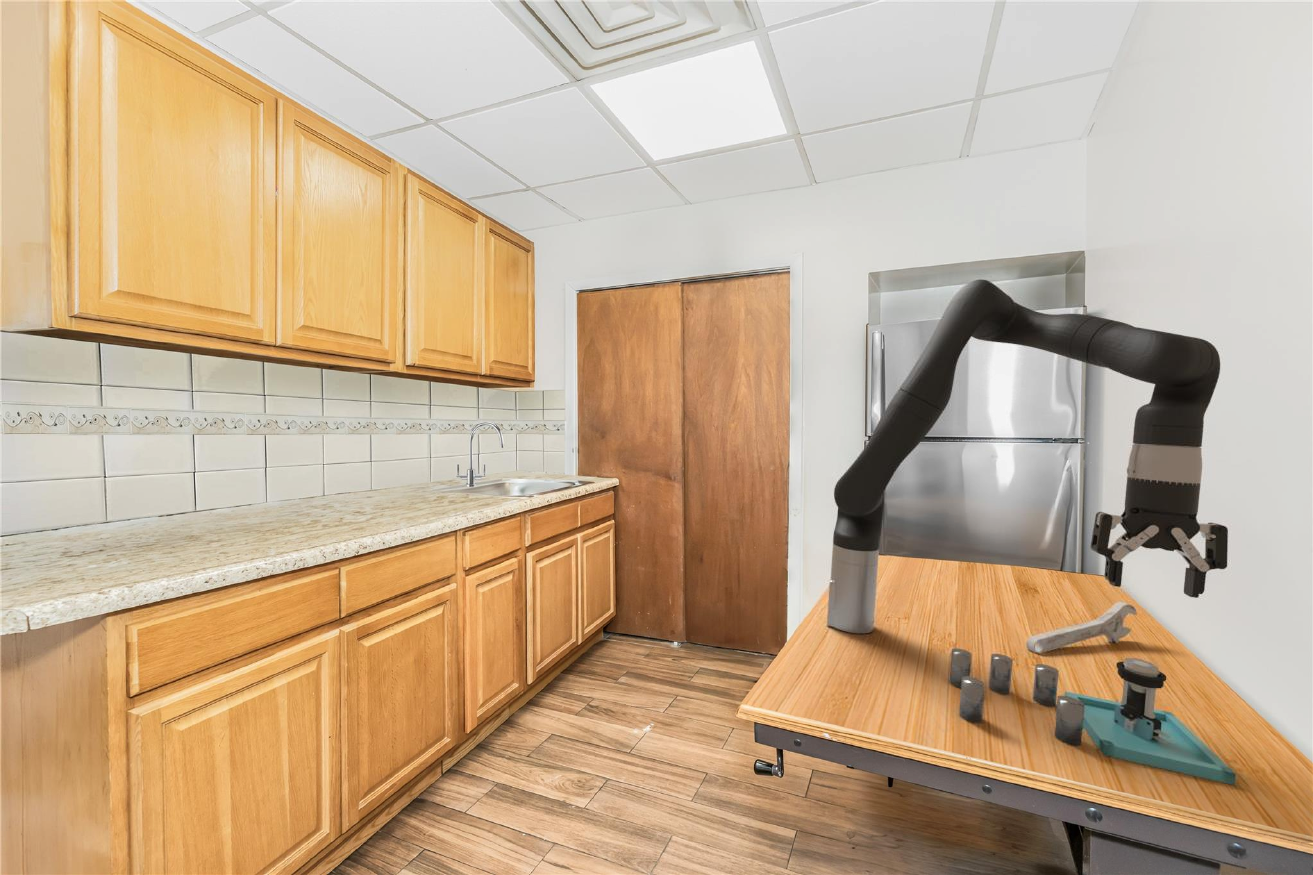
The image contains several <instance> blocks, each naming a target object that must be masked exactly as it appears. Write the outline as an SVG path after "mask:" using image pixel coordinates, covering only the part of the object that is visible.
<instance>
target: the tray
mask: <svg viewBox="0 0 1313 875" xmlns="http://www.w3.org/2000/svg"><path fill="white" fill-rule="evenodd" d="M1064 696H1068V697H1072V698H1075V699H1077V700H1079V701H1081V702H1083V703H1084V705H1085V706H1084V718H1083V729H1084V730H1085V732H1086V733H1087V734H1088V736H1089V737H1090V738H1091V740H1092V742H1093V743H1094V744H1095V746H1096V747H1097V748H1098V751H1100V753H1101V754H1102V755H1103V756H1107V757H1111V758H1115V759H1119V760H1124V761H1128V762H1133V763H1137V764H1142V765H1146V766H1151V767H1154V768H1159V769H1163V770H1168V771H1172V772H1174V773H1175V772H1176V773H1181V774H1184V775H1189V776H1193V777H1197V778H1201V779H1206V780H1210V781H1214V782H1219V783H1222V784H1228V785H1233V786H1235V785H1236V776H1237V775H1236V772H1235V771H1234V770H1233V769H1231V768H1230V767H1229V765H1227V764H1226V762H1224V760H1222V759H1221V758H1220V757H1219V756H1218V755H1217V754H1216V753H1215V752H1214V751H1212V749H1211V748H1210V747H1208V746H1207V745H1206V744H1205V743H1204V742H1203V741H1202V740H1201V739H1200V738H1199V737H1198V736H1197V735H1196V734H1194V732H1192V730H1190V728H1188V727H1187V725H1185V724H1184V723H1183V722H1182V721H1181V720H1180V719H1179V718H1178V717H1177V716H1175V715H1174V713H1173V712H1169V711H1165V710H1160V709H1155V708H1154V715H1155V718H1156V719H1158V720H1160V721H1161V723H1162V724H1161V731H1162V732H1163V733H1165V734H1167V735H1169V736H1171V737H1170V738H1167V737H1165V736H1167V735H1165V736H1163V735H1161V734H1159V737H1161V738H1162V739H1164V740H1166V741H1168V742H1170V744H1165V743H1163V742H1161V741H1159V740H1157V739H1153V740H1147V739H1145V738H1143V737H1141V736H1139V735H1137V734H1135V733H1133V732H1129V731H1127V730H1125V728H1124V727H1122V726H1120V725H1118V724H1116V723H1115V722H1114V712H1115V706H1118V705H1122V704H1120V701H1114V700H1110V699H1105V698H1099V697H1094V696H1091V695H1090V696H1089V695H1086V694H1085V695H1084V694H1081V693H1080V694H1079V693H1075V692H1070V691H1069V692H1068V691H1064ZM1164 742H1165V741H1164Z"/></svg>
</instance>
